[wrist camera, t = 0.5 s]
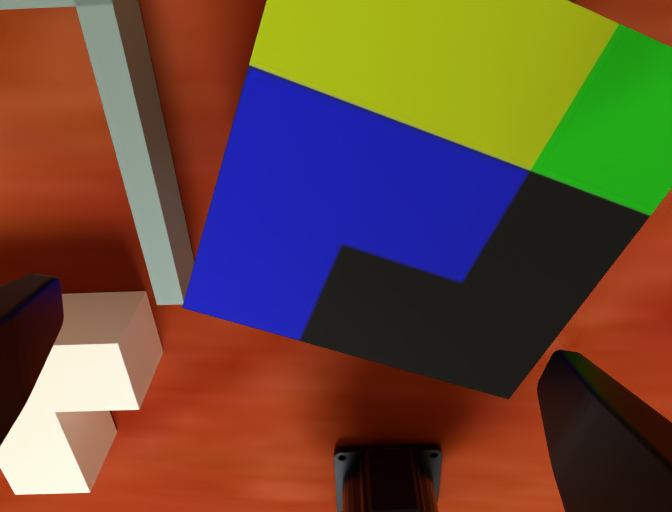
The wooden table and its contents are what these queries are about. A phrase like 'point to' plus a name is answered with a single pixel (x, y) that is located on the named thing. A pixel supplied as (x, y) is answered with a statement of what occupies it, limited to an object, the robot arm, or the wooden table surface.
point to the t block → (82, 393)
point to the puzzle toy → (434, 179)
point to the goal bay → (136, 135)
